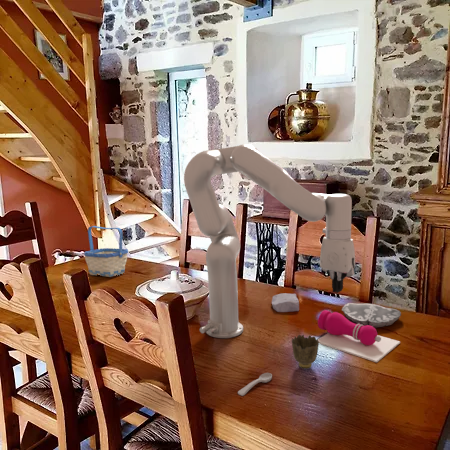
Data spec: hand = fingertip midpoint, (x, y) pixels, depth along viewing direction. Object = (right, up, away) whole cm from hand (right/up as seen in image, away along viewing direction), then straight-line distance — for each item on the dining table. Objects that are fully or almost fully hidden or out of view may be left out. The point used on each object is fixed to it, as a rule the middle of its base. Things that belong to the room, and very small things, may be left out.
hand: (337, 291), depth 142 cm
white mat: (+6, -16, -2) cm, 17 cm away
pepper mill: (-3, -10, +6) cm, 12 cm away
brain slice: (+15, -13, +15) cm, 25 cm away
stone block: (-13, -11, +30) cm, 34 cm away
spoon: (-27, -22, -24) cm, 43 cm away
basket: (-93, -3, +78) cm, 121 cm away
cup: (-13, -19, -16) cm, 28 cm away
